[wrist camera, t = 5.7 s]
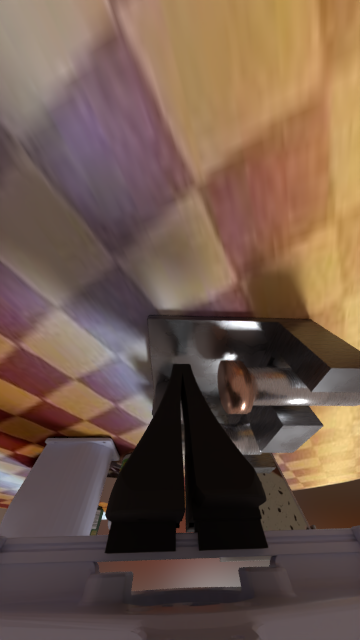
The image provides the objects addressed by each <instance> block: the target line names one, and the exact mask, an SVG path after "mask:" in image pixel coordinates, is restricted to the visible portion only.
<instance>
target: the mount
mask: <svg viewBox="0 0 360 640" xmlns="http://www.w3.org/2000/svg"><path fill="white" fill-rule="evenodd" d="M147 321H148V332H149V344H150V355H151V366H152V377H153V389H154V395H155V388H156V386H157V385H158V384H159V383H161V382H165V381H169V379H170V376H171V372H172V366H173V364H190V365H191V368H192V371H193V374H194V377H195V379H196V382H197V384H198V386H199V388H200V390H201V392H202V394H203V396H204V398H205V400H206V402H207V404H208V405H209V407H210V409H211V411H212V412H213V414H214V415H215V417H216V419H217V420H218V422H219V423H249V424H250V426H251V429H252V431H253V434H254V437H255V439H256V442H257V445H258V447H259V450H260V452H261V453H262V454H260V455H244V457H245V458H246V459H247V460H248V462H249V463H250V464H251V465H252V466H253V468H254V469H255V471H256V473H257V474H262V473H271V472H272V471H273V470H274V469H275V468H276V465H275V463H274V461H273V458H272V456H271V454H270V453H291V452H294V451H295V450H297V449H298V448H299V447H300V446H301V445H302V444H303V443H305V442H306V441H307V440H308V439H309V438H310V437H311V436H312V435H314V434H315V433H316V432H317V431H318V430H319V429H320V428H322V427H323V424H322V423H321V422H320V420H319V419H318V418H317V416H316V415H315V414H314V412H313V411H312V410H311V408H310V407H309V406H252V409H251V411H250V413H248V414H228V413H226V412H225V410H224V408H223V406H222V404H221V400H220V396H219V391H218V381H217V374H218V366H219V363H220V361H221V360H240V361H242V362H243V363H244V365H245V366H246V367H278V368H291V369H292V370H293V371H294V372H295V373H296V374H297V376H298V377H299V378H300V379H301V380H302V382H303V383H304V384H305V385H306V386H307V388H308V389H309V390H310V391H311V392H360V351H359V350H357V349H356V348H354V347H353V346H351V345H350V344H348V343H347V342H345V341H344V340H342V339H340V338H339V337H337V336H336V335H334V334H333V333H331V332H330V331H328V330H326V329H325V328H323V327H322V326H320V325H319V324H317V323H316V322H314V321H312V320H311V319H281V318H243V317H204V316H166V315H149V316H148V318H147ZM181 422H182V423H183V413H182V403H181Z"/></svg>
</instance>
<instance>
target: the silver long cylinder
mask: <svg viewBox="0 0 360 640" xmlns="http://www.w3.org/2000/svg"><path fill="white" fill-rule="evenodd" d="M220 425H221V426H222V427H223V429H224V430H225V432H226V433H227V435H228V436H229V437H230V439H231V440H232V441H233V443H234V444H235V445H236V447H237V448H238V449H239V450H240V452H241V453H242V454H243V455H260V454H262V453H261V452H260V450H259V447H258V445H257V442H256V439H255V437H254V434H253V431H252V429H251V426H250V424H249V423H220ZM181 431H182V453H183V455H185V445H184V423H182V422H181Z"/></svg>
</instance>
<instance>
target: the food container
mask: <svg viewBox="0 0 360 640" xmlns="http://www.w3.org/2000/svg"><path fill="white" fill-rule="evenodd" d="M270 454H271V456H272V458H273V461H274V463H275V465H276V468H275V469H274V470H273V471H272V472H271V473H262V474H257V475H258V477H259V479H260V482H261V484H262V486H263V489H264V491H265V495H266V498H267V500H266V502H265V503H263V504H262V505H260V506H259V509H260V513H261V516H262V519H260V520H261V524H262V527H263V530H264V531H273V530H309V529H316V526H315V525H312V526H309V524H308V522H307V520H306V518H305V516H304V514H303V512H302V510H301V508H300V506H299V504H298V502H297V501H296V499H295V497H294V495H293V493H292V491H291V489H290V487H289V485H288V483H287V481H286V479H285V477H284V475H283V473H282V472H281V470H280V468H279V466H278V464H277V462H276V460H275V458H274V456H273V454H272V453H270ZM271 557H272V556H253V557H224V558H220V561H221V562H226V561H254V560H270V558H271Z"/></svg>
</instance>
